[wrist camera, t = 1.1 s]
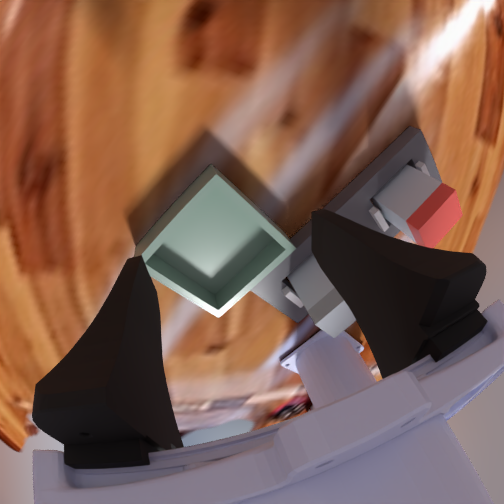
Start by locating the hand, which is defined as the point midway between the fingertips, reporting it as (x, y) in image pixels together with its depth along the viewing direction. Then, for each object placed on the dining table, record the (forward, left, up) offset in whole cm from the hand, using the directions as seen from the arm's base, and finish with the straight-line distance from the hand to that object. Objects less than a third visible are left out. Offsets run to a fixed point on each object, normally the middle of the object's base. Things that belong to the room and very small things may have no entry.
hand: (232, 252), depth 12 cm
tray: (-4, +3, -10) cm, 11 cm away
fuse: (-12, -1, -10) cm, 16 cm away
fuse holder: (-12, -6, -10) cm, 17 cm away
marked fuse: (-12, -11, -10) cm, 19 cm away
